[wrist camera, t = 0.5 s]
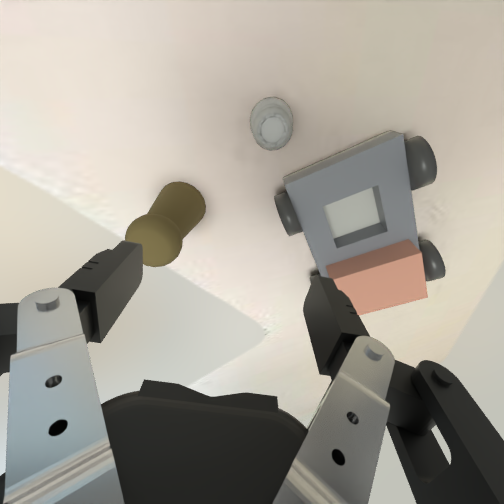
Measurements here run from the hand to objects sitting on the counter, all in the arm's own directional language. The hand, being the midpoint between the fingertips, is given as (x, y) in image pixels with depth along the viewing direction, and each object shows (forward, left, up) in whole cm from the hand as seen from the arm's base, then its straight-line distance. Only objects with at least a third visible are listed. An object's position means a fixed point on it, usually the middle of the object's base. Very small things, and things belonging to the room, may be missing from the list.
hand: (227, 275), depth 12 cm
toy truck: (-9, +13, -21) cm, 26 cm away
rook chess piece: (-4, -3, -21) cm, 21 cm away
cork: (+10, +1, -21) cm, 23 cm away
